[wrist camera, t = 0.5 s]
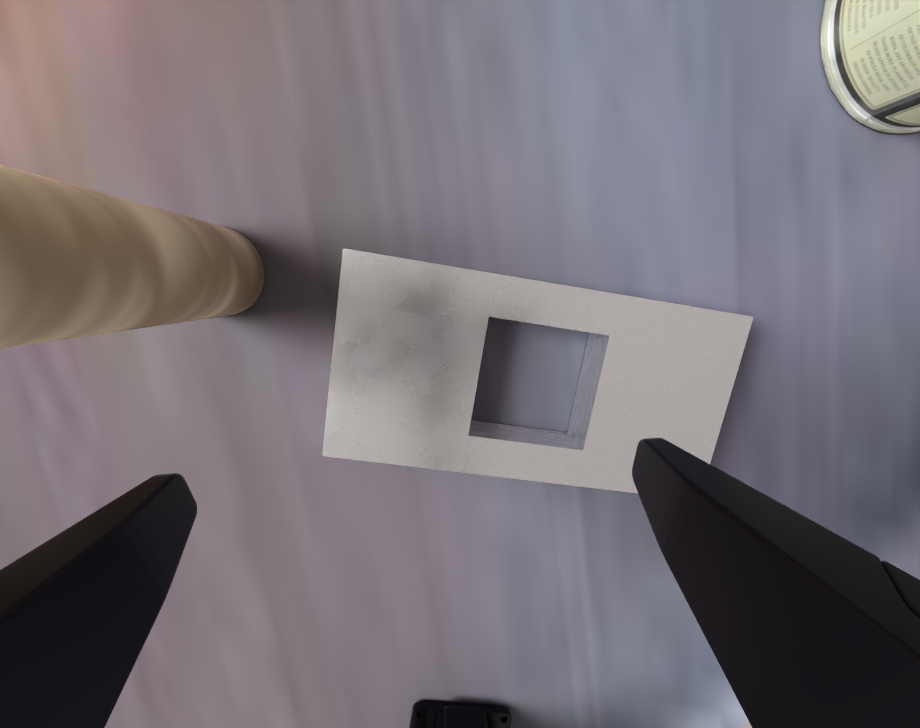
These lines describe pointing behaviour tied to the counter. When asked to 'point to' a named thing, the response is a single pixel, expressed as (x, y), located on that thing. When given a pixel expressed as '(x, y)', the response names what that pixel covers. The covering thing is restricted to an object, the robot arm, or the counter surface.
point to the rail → (459, 358)
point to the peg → (110, 263)
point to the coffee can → (874, 61)
